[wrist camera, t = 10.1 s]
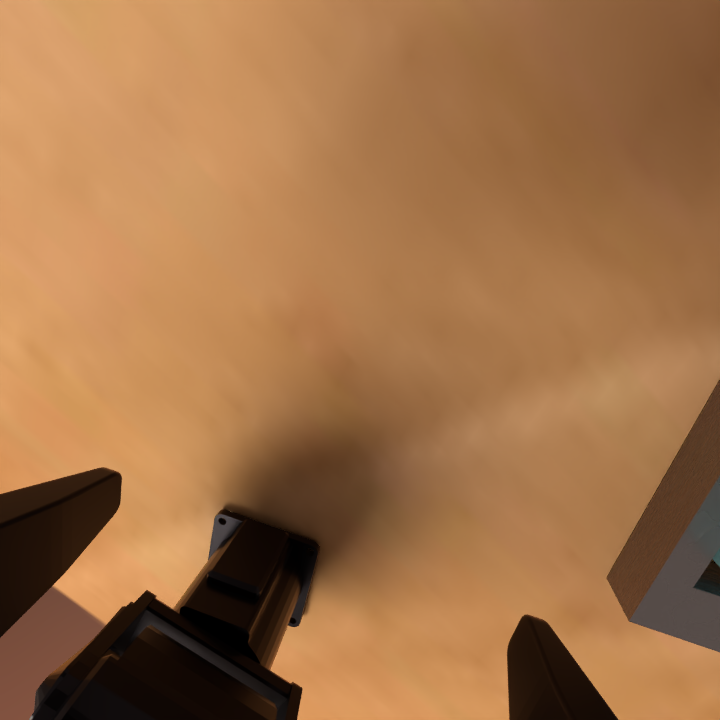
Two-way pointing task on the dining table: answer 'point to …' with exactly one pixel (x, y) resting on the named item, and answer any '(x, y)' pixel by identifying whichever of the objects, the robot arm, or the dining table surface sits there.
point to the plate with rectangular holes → (679, 544)
